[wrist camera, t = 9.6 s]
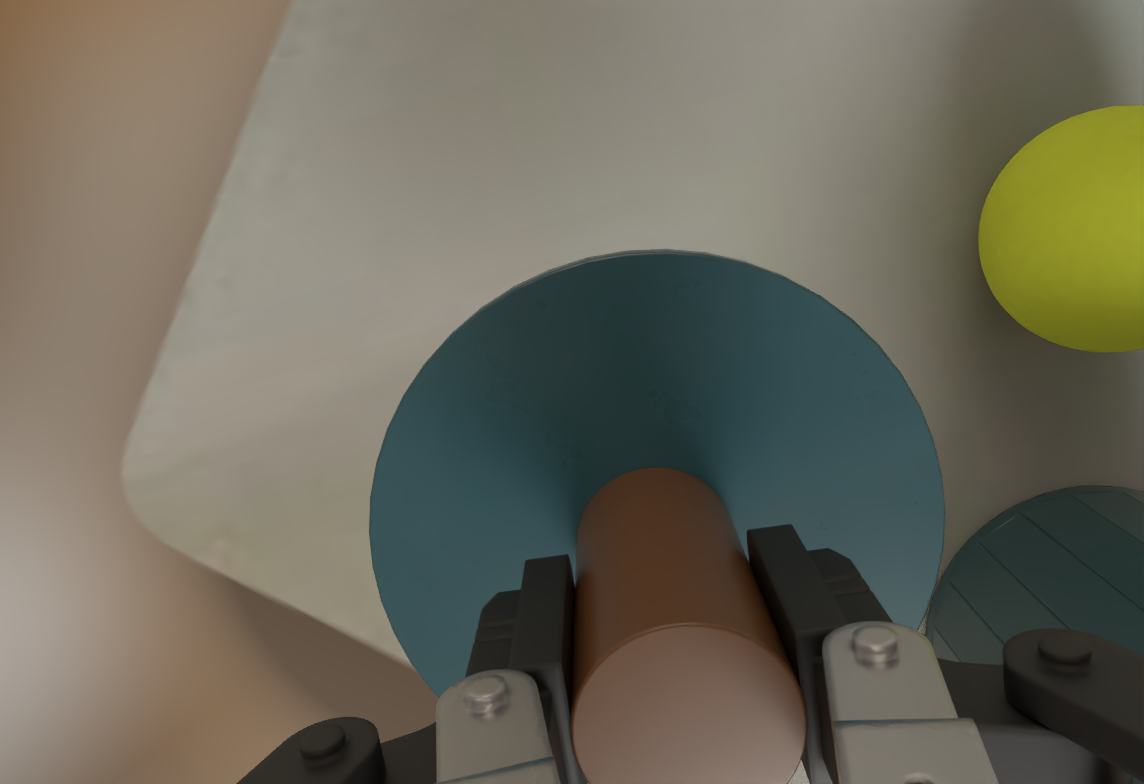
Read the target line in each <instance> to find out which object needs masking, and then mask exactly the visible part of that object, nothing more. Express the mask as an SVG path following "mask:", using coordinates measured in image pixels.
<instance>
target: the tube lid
mask: <svg viewBox="0 0 1144 784" xmlns="http://www.w3.org/2000/svg"><path fill="white" fill-rule="evenodd" d="M786 524H792V526H793V527H794V529H795V531H796V532H797V534H798V536H799V538H800V539H801V541H802V543H803V544H804V546H805V548H806V550H807V551H809V550H817V549H824V548H830V549H832V550H834V551H836V552H837V553H839V554H841V555H843V556H845V557H847V558H849V559H851V561H852V562H853V564H854V565H855V567H856V568H857V570H858V571H859V573H860V574H861V577H862V578H864V580H865V581H866V583H867V584H868V586H869V587H870V591H872V592H873V593H874V595H875V596H876V598H877V599H878V601H879V602H880V604H881V605H882V607H883V608H884V609H885V611H886V612H887V614H888V615H889V617H890V618H891V620H892V621H893V623H898V624H901V625H905V626H908V627H910V628H913V629H915V630H917V631H918V629H919V627H920V625H921V623H922V621H923V619H924V617H925V614H926V611H927V608H928V605H929V603H930V600H931V597H932V594H933V591H934V588H935V585H936V582H937V577H938V572H939V567H940V562H941V557H942V552H943V542H944V524H945V504H944V493H943V481H942V474H941V470H940V465H939V461H938V457H937V452H936V448H935V444H934V440H933V438H932V435H931V433H930V430H929V428H928V425H927V422H926V420H925V417H924V415H923V412H922V410H921V407H920V405H919V404H918V402H917V400H916V398H915V397H914V395H913V393H912V391H911V390H910V388H909V386H908V384H907V383H906V381H905V379H904V377H903V376H902V374H901V373H900V371H899V370H898V369H897V368H896V366H895V365H894V364H893V362H892V361H891V360H890V359H889V357H888V356H887V355H886V353H885V352H884V351H883V350H882V348H881V347H880V346H879V345H878V344H877V343H876V342H875V341H874V340H873V339H872V338H871V337H870V336H869V335H868V334H867V333H866V332H865V331H864V330H863V329H862V328H861V327H860V326H859V325H858V324H857V323H856V322H855V321H854V320H853V319H851V318H850V317H849V316H847V315H846V314H845V313H843V312H842V311H840V310H839V309H838V308H836V307H835V306H834V305H832V304H831V303H829V302H828V301H827V300H825V299H824V298H823V297H821V296H820V295H818V294H816V293H814V292H812V291H810V290H809V289H807V288H805V287H803V286H801V285H799V284H797V283H795V282H794V281H792V280H790V279H788V278H786V277H784V276H782V275H780V274H778V273H775V272H772V271H769V270H767V269H764V268H761V267H759V266H756V265H753V264H751V263H748V262H745V261H741V260H737V259H733V258H728V257H724V256H719V255H715V254H710V253H706V252H695V251H683V250H672V249H654V250H632V251H622V252H616V253H611V254H605V255H600V256H594V257H588V258H585V259H582V260H578V261H575V262H572V263H569V264H566V265H563V266H560V267H556V268H553V269H550V270H548V271H546V272H544V273H541V274H539V275H537V276H535V277H533V278H531V279H529V280H527V281H524V282H522V283H520V284H518V285H516V286H514V287H512V288H511V289H509V290H508V291H506V292H505V293H503V294H502V295H500V296H498V297H497V298H495V299H494V300H492V301H491V302H489V303H488V304H486V305H485V306H483V307H482V308H480V309H479V310H478V311H477V312H476V313H475V314H473V315H472V316H471V317H470V318H469V319H467V320H466V321H465V322H464V323H463V324H462V325H460V326H459V327H458V328H457V329H456V330H455V331H453V332H452V334H451V335H450V336H449V337H448V338H447V339H446V340H445V341H444V343H443V344H442V345H441V346H440V347H439V348H438V349H437V350H436V351H435V353H434V354H433V355H432V356H431V357H430V358H429V359H428V360H427V362H426V363H425V364H424V365H423V367H422V368H421V370H420V371H419V373H418V374H417V376H416V377H415V379H414V380H413V382H412V383H411V385H410V386H409V388H408V389H407V391H406V392H405V394H404V395H403V397H402V399H401V401H400V404H399V406H398V408H397V410H396V412H395V414H394V416H393V418H392V420H391V422H390V424H389V426H388V428H387V431H386V434H385V438H384V441H383V444H382V447H381V450H380V453H379V456H378V459H377V462H376V468H375V473H374V479H373V485H372V491H371V496H370V521H369V536H370V546H371V555H372V565H373V570H374V574H375V578H376V582H377V586H378V590H379V594H380V598H381V602H382V604H383V607H384V609H385V612H386V614H387V617H388V619H389V622H390V624H391V627H392V629H393V632H394V634H395V636H396V637H397V639H398V641H399V643H400V644H401V646H402V648H403V650H404V652H405V653H406V655H407V657H408V659H409V660H410V662H411V664H412V665H413V666H414V668H415V669H416V670H417V672H418V673H419V674H420V676H421V677H422V678H423V680H424V681H425V682H426V683H427V685H428V686H429V688H430V689H431V690H432V691H433V692H434V693H435V694H436V695H437V696H438V697H439V698H440V697H441V695H442V694H443V693H444V692H445V691H446V690H447V689H448V688H449V687H450V686H452V685H453V684H455V683H456V682H458V681H460V680H461V679H464V678H465V676H466V672H467V668H468V664H469V660H470V655H471V651H472V647H473V643H475V640H474V639H475V635H476V631H477V629H478V623H479V619H480V615H481V611H482V608H483V607H484V606H485V605H486V604H487V603H488V602H489V601H490V600H491V599H492V598H493V597H494V596H495V595H496V594H497V593H498V592H504V591H512V590H519V589H521V584H522V578H523V572H524V565H525V561H526V560H528V559H536V558H543V557H550V556H557V555H565V554H568V555H569V558H570V562H571V567H572V572H573V578H574V584H575V606H574V635H573V664H572V693H571V720H570V736H571V743H572V748H573V753H574V756H575V758H576V761H577V764H578V766H579V768H580V770H581V772H582V774H583V776H584V778H585V779H586V780H587V782H588V783H589V784H788V782H789V781H790V779H791V778H792V776H793V775H794V773H795V771H796V769H797V767H798V765H799V763H800V761H801V758H802V755H803V752H804V749H805V745H806V739H807V733H808V716H807V708H806V703H805V700H804V696H803V693H802V690H801V688H800V685H799V683H798V680H797V678H796V676H795V673H794V671H793V668H792V666H791V663H790V661H789V659H788V656H787V654H786V651H785V649H784V646H783V644H782V641H781V639H780V637H779V634H778V632H777V629H776V627H775V624H774V622H773V620H772V617H771V615H770V612H769V610H768V607H767V605H766V603H765V600H764V598H763V595H762V593H761V590H760V588H759V585H758V583H757V581H756V578H755V576H754V573H753V571H752V568H751V566H750V564H749V556H748V547H747V530H749V529H756V528H764V527H771V526H778V525H786Z"/></svg>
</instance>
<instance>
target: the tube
mask: <svg viewBox="0 0 1144 784" xmlns="http://www.w3.org/2000/svg"><path fill="white" fill-rule="evenodd" d="M1043 628H1060V629H1071V630H1077V631H1082V632H1086V633H1090V634H1093V635H1097V636H1099V637H1102V638H1104V639H1107V640H1109V641H1111V642H1113V643H1116V644H1118V645H1120V646H1122V647H1125V648H1127V649H1129V650H1131V651H1134V652H1136V653H1138V654H1141V655H1143V656H1144V492H1140V491H1135V490H1131V489H1126V488H1120V487H1109V486H1085V487H1075V488H1069V489H1063V490H1058V491H1054V492H1051V493H1047V494H1043V495H1040V496H1037V497H1035V498H1032V499H1030V500H1027V501H1025V502H1023V503H1020V504H1018V505H1016V506H1015V507H1013V508H1011V509H1009V510H1007V511H1005V512H1004V513H1002V514H1000V515H999V516H998V517H996V518H995V519H993V520H992V521H990V522H989V523H988V524H986V525H985V526H984V527H983V528H981V529H980V530H979V531H978V532H977V533H976V534H975V535H974V536H973V537H971V538H970V539H969V540H968V542H967V543H966V544H965V545H964V546H963V547H962V548H961V550H960V551H959V552H958V553H957V554H956V556H955V557H954V558H953V560H952V561H951V563H950V564H949V566H948V567H947V569H946V570H945V572H944V574H943V576H942V578H941V580H940V582H939V584H938V586H937V588H936V591H935V594H934V597H933V600H932V603H931V606H930V611H929V616H928V621H927V635H926V638H927V639H928V640H929V641H930V643H931V645H932V647H933V650H934V653H935V655H936V657H937V658H941V659H945V660H950V661H956V662H964V663H978V664H996V665H1003V656H1002V650H1003V646H1004V644H1005V643H1006V642H1007V641H1008V640H1009V639H1010V638H1011V637H1013V636H1015V635H1017V634H1019V633H1022V632H1025V631H1030V630H1035V629H1043ZM1133 784H1144V783H1143V782H1142V781H1140V780H1138V779H1136V778H1135V777H1133Z"/></svg>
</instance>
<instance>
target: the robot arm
mask: <svg viewBox="0 0 1144 784" xmlns="http://www.w3.org/2000/svg"><path fill="white" fill-rule="evenodd" d="M747 547H748V556H749V564H750V566H751V568H752V571H753V573H754V576H755V578H756V581H757V583H758V585H759V588H760V590H761V593H762V595H763V598H764V600H765V603H766V605H767V607H768V610H769V612H770V615H771V617H772V620H773V622H774V624H775V627H776V629H777V632H778V634H779V637H780V639H781V641H782V644H783V646H784V649H785V651H786V654H787V656H788V659H789V661H790V663H791V666H792V668H793V671H794V673H795V676H796V678H797V680H798V683H799V685H800V688H801V690H802V693H803V696H804V700H805V703H806V708H807V716H808V733H807V739H806V745H805V749H804V752H803V755H802V758H801V760H802V763H803V765H804V768H805V771H806V774H807V777H808V779H809V782H810V784H1133V777H1135V778H1136V779H1138V780H1140V781H1142V782H1143V783H1144V656H1143V655H1141V654H1138V653H1136V652H1134V651H1131V650H1129V649H1127V648H1125V647H1122V646H1120V645H1118V644H1116V643H1113V642H1111V641H1109V640H1107V639H1104V638H1102V637H1099V636H1097V635H1093V634H1090V633H1086V632H1082V631H1077V630H1071V629H1060V628H1043V629H1035V630H1030V631H1025V632H1022V633H1019V634H1017V635H1015V636H1013V637H1011V638H1010V639H1009V640H1008V641H1007V642H1006V643H1005V644H1004V646H1003V650H1002V656H1003V665H996V664H978V663H964V662H956V661H950V660H945V659H941V658H937V657H936V655H935V653H934V650H933V647H932V645H931V643H930V641H929V640H928V639H927V638H926V636H924V635H923V634H922V633H920V632H919V631H917V630H915V629H913V628H910V627H908V626H905V625H901V624H898V623H893V621H892V620H891V618H890V617H889V615H888V614H887V612H886V611H885V609H884V608H883V607H882V605H881V604H880V602H879V601H878V599H877V598H876V596H875V595H874V593H873V592H872V591H870V587H869V586H868V584H867V583H866V581H865V580H864V578H862V577H861V574H860V573H859V571H858V570H857V568H856V567H855V565H854V564H853V562H852V561H851V559H849V558H847V557H845V556H843V555H841V554H839V553H837V552H836V551H834V550H832V549H830V548H824V549H817V550H809V551H807V550H806V548H805V546H804V544H803V543H802V541H801V539H800V538H799V536H798V534H797V532H796V531H795V529H794V527H793V526H792V524H786V525H778V526H771V527H764V528H756V529H749V530H747ZM574 606H575V584H574V578H573V572H572V567H571V562H570V558H569V555H568V554H565V555H557V556H550V557H543V558H536V559H528V560H526V561H525V565H524V572H523V578H522V584H521V589H519V590H512V591H504V592H498V593H497V594H496V595H495V596H494V597H493V598H492V599H491V600H490V601H489V602H488V603H487V604H486V605H485V606H484V607H483V608H482V611H481V615H480V619H479V623H478V629H477V631H476V635H475V639H474V640H475V643H473V647H472V651H471V655H470V660H469V664H468V668H467V672H466V676H465V678H464V679H461V680H460V681H458V682H456V683H455V684H453V685H452V686H450V687H449V688H448V689H447V690H446V691H445V692H444V693H443V694H442V695H441V697H440V698H439V700H438V702H437V706H436V722H435V723H433V724H431V725H430V726H428V727H425V728H423V729H421V730H419V731H416V732H413V733H411V734H408V735H405V736H402V737H399V738H396V739H393V740H390V741H387V742H384V743H381V744H380V739H379V735H378V731H377V728H376V727H375V725H374V724H372V723H371V722H370V721H368V720H365V719H362V718H358V717H341V718H333V719H329V720H325V721H322V722H319V723H315V724H313V725H311V726H308V727H306V728H304V729H302V730H300V731H298V732H297V733H295V734H294V735H292V736H291V737H289V738H288V739H287V740H286V741H284V742H283V743H282V744H281V745H280V746H279V747H277V748H276V749H275V750H274V751H273V752H272V753H271V754H270V755H268V756H267V757H266V758H265V759H264V760H263V761H262V762H260V763H259V764H258V765H257V766H256V767H255V768H254V769H253V770H251V771H250V772H249V773H248V774H247V775H246V776H245V777H243V778H242V779H241V780H240V781H239V782H238V783H237V784H588V782H587V780H586V779H585V778H584V776H583V774H582V772H581V770H580V768H579V766H578V764H577V761H576V758H575V756H574V753H573V748H572V743H571V736H570V720H571V693H572V664H573V635H574Z"/></svg>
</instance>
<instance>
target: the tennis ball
mask: <svg viewBox="0 0 1144 784" xmlns="http://www.w3.org/2000/svg"><path fill="white" fill-rule="evenodd" d="M978 246H979V256H980V261H981V266H982V269H983V272H984V275H985V278H986V280H987V283H988V285H989V287H990V289H991V291H992V293H993V294H994V296H995V298H996V299H997V300H998V302H999V303H1000V304H1001V306H1002V307H1003V308H1004V309H1005V310H1006V311H1007V312H1008V313H1009V314H1010V315H1011V316H1012V317H1013V318H1014V319H1015V320H1016V321H1017V322H1018V323H1019V324H1021V325H1022V326H1024V327H1025V328H1026V329H1028V330H1029V331H1031V332H1033V333H1035V334H1036V335H1038V336H1040V337H1042V338H1044V339H1046V340H1048V341H1050V342H1053V343H1056V344H1058V345H1061V346H1065V347H1069V348H1074V349H1078V350H1083V351H1090V352H1126V351H1133V350H1139V349H1143V348H1144V105H1125V106H1112V107H1106V108H1101V109H1096V110H1092V111H1088V112H1085V113H1082V114H1079V115H1076V116H1073V117H1071V118H1068V119H1066V120H1064V121H1062V122H1060V123H1058V124H1056V125H1054V126H1052V127H1050V128H1049V129H1047V130H1045V131H1044V132H1042V133H1040V134H1039V135H1037V136H1036V137H1035V138H1033V139H1032V140H1031V141H1030V142H1028V143H1027V144H1026V145H1025V146H1024V147H1023V148H1022V149H1021V150H1020V151H1019V152H1018V153H1017V154H1016V155H1015V156H1013V158H1012V159H1011V160H1010V161H1009V162H1008V163H1007V165H1006V166H1005V167H1004V168H1003V170H1002V171H1001V172H1000V174H999V175H998V177H997V179H996V180H995V182H994V184H993V185H992V187H991V189H990V192H989V194H988V196H987V198H986V201H985V204H984V207H983V210H982V214H981V219H980V224H979V234H978Z"/></svg>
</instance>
